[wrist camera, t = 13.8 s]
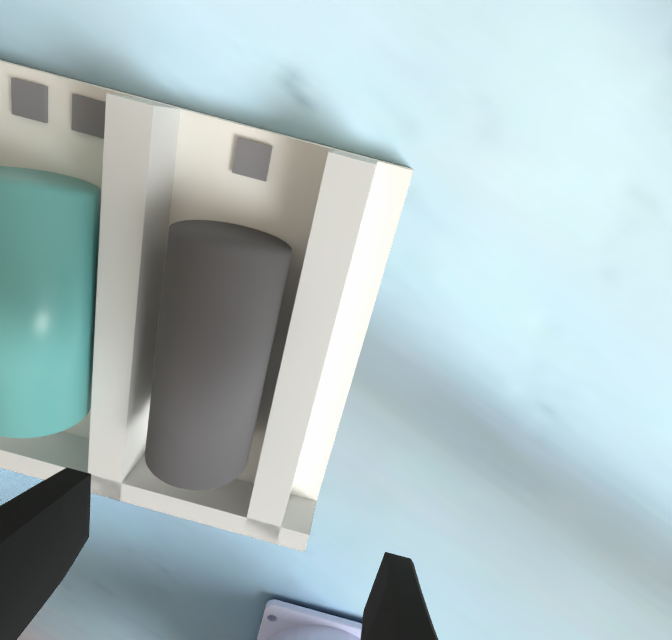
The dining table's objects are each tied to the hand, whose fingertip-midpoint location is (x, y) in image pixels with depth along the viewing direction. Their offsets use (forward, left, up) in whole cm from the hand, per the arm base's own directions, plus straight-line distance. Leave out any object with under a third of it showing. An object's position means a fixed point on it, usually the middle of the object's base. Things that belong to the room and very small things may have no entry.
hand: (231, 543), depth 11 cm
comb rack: (+1, +7, -10) cm, 12 cm away
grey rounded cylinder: (+1, +3, -9) cm, 9 cm away
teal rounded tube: (+1, +10, -9) cm, 14 cm away
